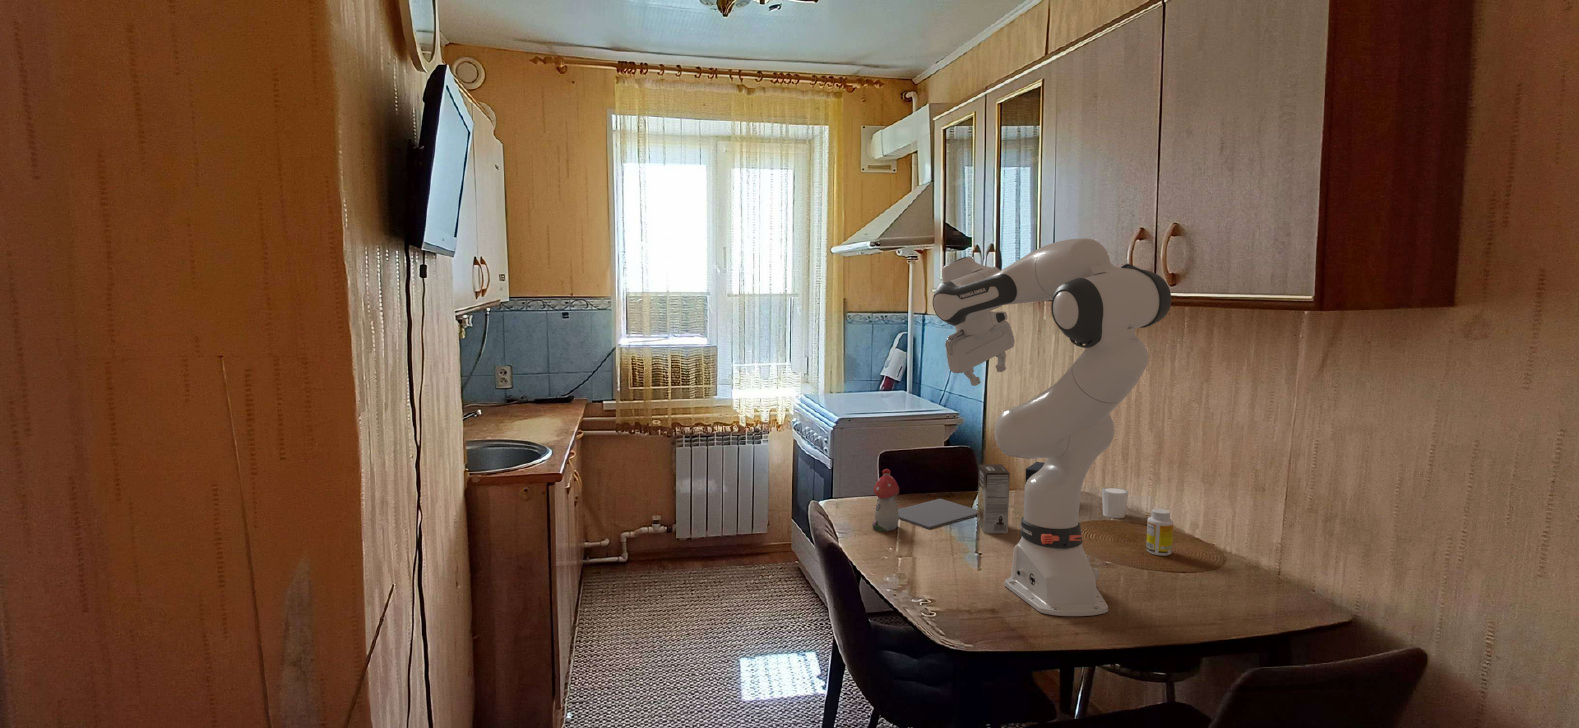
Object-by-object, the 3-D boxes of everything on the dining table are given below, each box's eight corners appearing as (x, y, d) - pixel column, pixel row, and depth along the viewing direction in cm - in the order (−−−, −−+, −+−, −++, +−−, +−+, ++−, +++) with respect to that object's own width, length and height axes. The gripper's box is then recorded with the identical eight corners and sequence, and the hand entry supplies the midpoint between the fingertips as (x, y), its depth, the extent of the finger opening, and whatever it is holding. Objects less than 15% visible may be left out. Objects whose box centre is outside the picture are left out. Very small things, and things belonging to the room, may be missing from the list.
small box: (1034, 494, 233) (1036, 460, 231) (1056, 498, 229) (1058, 463, 228) (1023, 502, 224) (1024, 467, 223) (1045, 506, 220) (1047, 471, 219)
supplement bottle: (1174, 552, 184) (1177, 510, 182) (1167, 558, 179) (1170, 515, 178) (1150, 546, 187) (1152, 506, 186) (1142, 552, 183) (1144, 511, 182)
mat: (928, 529, 200) (928, 527, 200) (885, 514, 213) (886, 512, 213) (983, 513, 214) (983, 511, 214) (940, 500, 226) (940, 498, 226)
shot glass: (1128, 513, 213) (1130, 489, 213) (1125, 520, 208) (1126, 495, 207) (1102, 510, 217) (1103, 485, 216) (1098, 516, 211) (1099, 491, 210)
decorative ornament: (880, 520, 208) (881, 466, 206) (903, 524, 205) (904, 469, 203) (867, 530, 199) (868, 474, 198) (891, 534, 196) (892, 477, 195)
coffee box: (976, 522, 206) (977, 463, 204) (1000, 522, 206) (1001, 463, 204) (984, 533, 197) (985, 472, 195) (1009, 533, 197) (1011, 472, 195)
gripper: (953, 337, 177) (969, 393, 179) (1010, 310, 187) (1025, 363, 189) (934, 339, 183) (950, 393, 185) (991, 312, 193) (1006, 364, 195)
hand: (989, 377), depth 187 cm, fingers open, 8 cm apart
